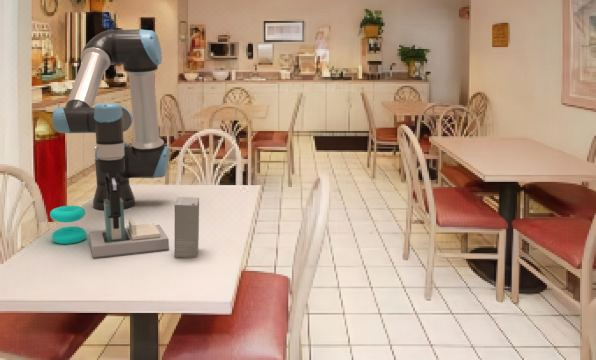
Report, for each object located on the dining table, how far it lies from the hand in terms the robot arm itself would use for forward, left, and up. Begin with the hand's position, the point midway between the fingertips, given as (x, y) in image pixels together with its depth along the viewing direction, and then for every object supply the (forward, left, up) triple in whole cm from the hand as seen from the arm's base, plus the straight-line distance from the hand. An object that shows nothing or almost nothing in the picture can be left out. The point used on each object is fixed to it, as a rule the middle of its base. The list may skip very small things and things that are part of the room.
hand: (115, 235), depth 182 cm
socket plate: (0, +4, -4) cm, 5 cm away
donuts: (-13, -12, -4) cm, 19 cm away
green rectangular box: (0, 0, -1) cm, 1 cm away
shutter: (0, +8, 0) cm, 8 cm away
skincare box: (+13, +19, -4) cm, 23 cm away
